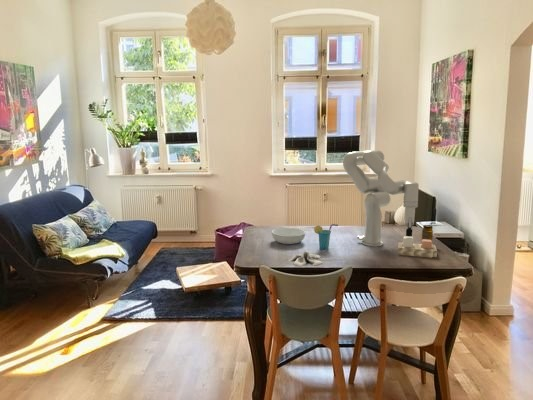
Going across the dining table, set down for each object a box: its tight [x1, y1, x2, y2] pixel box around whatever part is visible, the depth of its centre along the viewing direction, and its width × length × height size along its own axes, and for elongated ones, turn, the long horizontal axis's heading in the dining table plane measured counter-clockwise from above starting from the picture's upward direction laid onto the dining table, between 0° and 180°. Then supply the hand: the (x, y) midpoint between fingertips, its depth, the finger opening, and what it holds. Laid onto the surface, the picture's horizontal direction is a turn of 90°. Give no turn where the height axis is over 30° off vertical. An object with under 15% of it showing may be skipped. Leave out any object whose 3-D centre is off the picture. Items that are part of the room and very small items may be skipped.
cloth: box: [287, 250, 323, 267], centre depth 226 cm, size 22×19×6 cm
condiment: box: [418, 224, 434, 245], centre depth 254 cm, size 7×8×12 cm
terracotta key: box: [421, 239, 433, 249], centre depth 237 cm, size 5×5×6 cm
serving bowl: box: [271, 227, 306, 245], centre depth 261 cm, size 21×21×7 cm
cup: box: [313, 223, 339, 251], centre depth 246 cm, size 14×8×15 cm, turn 97°
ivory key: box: [402, 235, 414, 247], centre depth 240 cm, size 5×5×6 cm
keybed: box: [397, 241, 438, 259], centre depth 239 cm, size 20×12×4 cm, turn 74°
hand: (408, 235), depth 239 cm, fingers closed
